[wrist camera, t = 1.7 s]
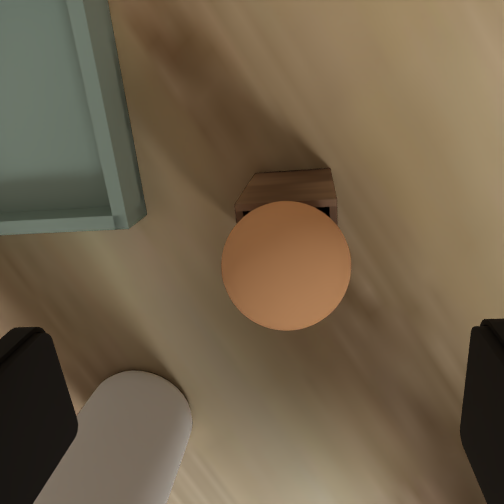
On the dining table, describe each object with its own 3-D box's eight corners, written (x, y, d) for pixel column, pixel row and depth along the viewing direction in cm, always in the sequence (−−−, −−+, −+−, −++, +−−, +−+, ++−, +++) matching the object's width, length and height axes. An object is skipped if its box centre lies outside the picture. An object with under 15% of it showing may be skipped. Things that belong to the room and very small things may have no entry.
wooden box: (330, 168, 24) (336, 199, 17) (332, 239, 25) (338, 292, 19) (255, 173, 24) (234, 204, 18) (261, 242, 26) (244, 294, 19)
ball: (345, 184, 18) (357, 219, 13) (346, 292, 19) (357, 357, 15) (227, 191, 18) (199, 227, 14) (239, 295, 20) (217, 357, 16)
